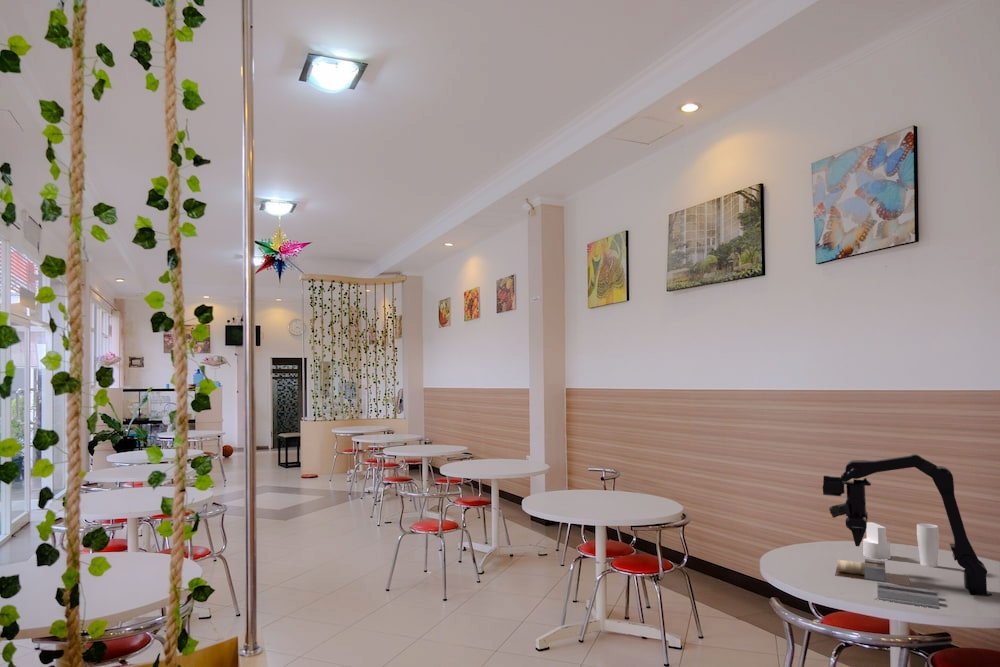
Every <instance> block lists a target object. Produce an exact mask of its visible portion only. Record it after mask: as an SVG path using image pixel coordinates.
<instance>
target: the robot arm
mask: <svg viewBox="0 0 1000 667" xmlns="http://www.w3.org/2000/svg"><path fill="white" fill-rule="evenodd" d="M911 468H916V469H917V470H919V471H921V472H922V473H923V474H925V475H927V476H929V478H932V481H933V484H934V485H935V487H936V489H937V490H938V493H939V494H940V496H941V500H942V503H943V507H944V509H945V513H946V516H947V519H948V523H949V526H950V530H951V533H952V536H953V543H949V547H950V550H951V551H952V557H953V560H954V561H956V562H957V564H958V565H959V566H960V567H961V568H963V585H964V589H965V590H967V591H968V592H969V594H970V595H972V596H993V593H992V592H989V591H988V589H987V587H988V586H987V585H988V584H987V574H988V570H987V568H986V566H985V564H984V563H983V562H982V561H981V560H980V559H979V558H978V556H977V553H976V552H975V550H974V549H973V546H972V545H971V542H970V540H969V539H968V535H967V532H966V529H965V527H964V522H963V520H962V516H961V512H960V509H959V506H958V503H957V500H956V496H955V482H954V476H953V474H952V472H951V470H950V469H948V468H947V467H945V466H940V465H936V464H935V463H933V462H930V461H929V460H927V459H925V458H923V457H921V455H919V454H916V453H914V454H913V453H912V454H910V455H905V456H897V457H891V458H885V459H877V460H865V459H863V460H860V459H857V460H855V459H854V460H850V461H848V462H847V464H846V466H845V471H844V472H843V473H841V476H831V475H823V481H822V483H823V484H822V493H823V494H822V495H823V496H830V497H831V496H833V497H842V495H843V494H845V493H846V500H845V502H844V503H840V504H835V505H832V506H830V507H829V508H828V510H829V513H830V516H831V517H832V518H833V519H834V518H837V517H840V516H843V515H845V517H846V518H845V526H846V528H847V529H848V530H850V531H851V534H852V538H853V541H854V546H856V547H860V545H861V542H863V539H864V535H865V534H866V528H867V522H868V519H869V517H868V516H869V515H868V512H867V506H866V505H867V500H866V499H867V498H866V487H867V486H868V487H871V486H872V482H870V481H869V480H868V478H867V477H868V476H871V475H873V474H877V473H881V472H888V471H895V470H904V469H911ZM861 478H863V479H861ZM851 480H853V481H851ZM845 485H846V487H845ZM845 488H846V491H845Z"/></svg>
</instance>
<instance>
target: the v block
mask: <svg viewBox="0 0 1000 667" xmlns="http://www.w3.org/2000/svg"><path fill="white" fill-rule="evenodd" d="M876 590H877V600H878V599H879V600H883V601H882V602H886V601H890V602H889V603H893V602H894V604H900V605H908V606H913V605H914V606H915V607H920V606H921V608H922V607H923V608H927V607H928V609H934V610H935V609H936V610H940V597H939V595H938V594H939V592H938V590H934V589H927V588H926V589H925V588H918V587H911V586H906V585H899V584H891V583H884V582H877V588H876ZM879 600H878V601H879Z"/></svg>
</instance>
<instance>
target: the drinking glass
mask: <svg viewBox="0 0 1000 667" xmlns="http://www.w3.org/2000/svg"><path fill="white" fill-rule="evenodd" d="M939 530H940V529H939V526H938V525H936V524H933V523H921V522H920V523H917V524H916V539H917V545H918V546H917V547H918V548H917V549H918V555H919V564H920V565H921V566H924V567H928V568H938V566H939V565H938V564H939V561H938V560H939V548H940V547H939V545H940V531H939Z"/></svg>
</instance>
